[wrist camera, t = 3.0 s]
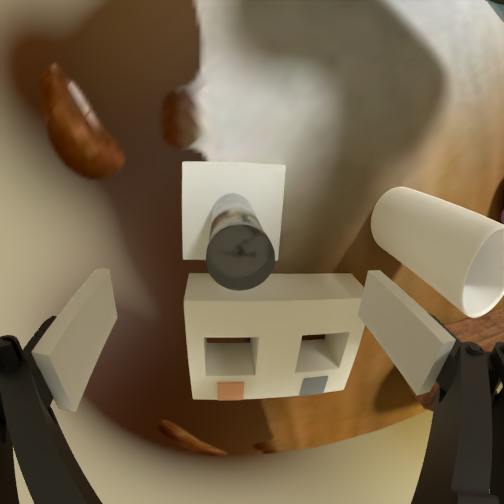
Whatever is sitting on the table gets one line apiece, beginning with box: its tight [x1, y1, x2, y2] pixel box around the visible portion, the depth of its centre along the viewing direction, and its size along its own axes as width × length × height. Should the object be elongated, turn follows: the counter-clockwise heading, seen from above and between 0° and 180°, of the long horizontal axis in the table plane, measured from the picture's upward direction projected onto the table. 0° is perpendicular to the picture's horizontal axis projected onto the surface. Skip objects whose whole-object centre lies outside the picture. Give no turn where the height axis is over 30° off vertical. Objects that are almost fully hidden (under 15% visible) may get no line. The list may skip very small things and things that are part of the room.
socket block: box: [184, 273, 365, 400], centre depth 32 cm, size 14×19×6 cm
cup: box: [371, 187, 504, 318], centre depth 25 cm, size 8×8×16 cm
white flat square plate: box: [182, 162, 286, 261], centre depth 29 cm, size 10×10×1 cm
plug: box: [206, 193, 275, 291], centre depth 23 cm, size 4×4×12 cm
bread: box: [407, 309, 504, 411], centre depth 37 cm, size 14×28×12 cm, turn 90°
